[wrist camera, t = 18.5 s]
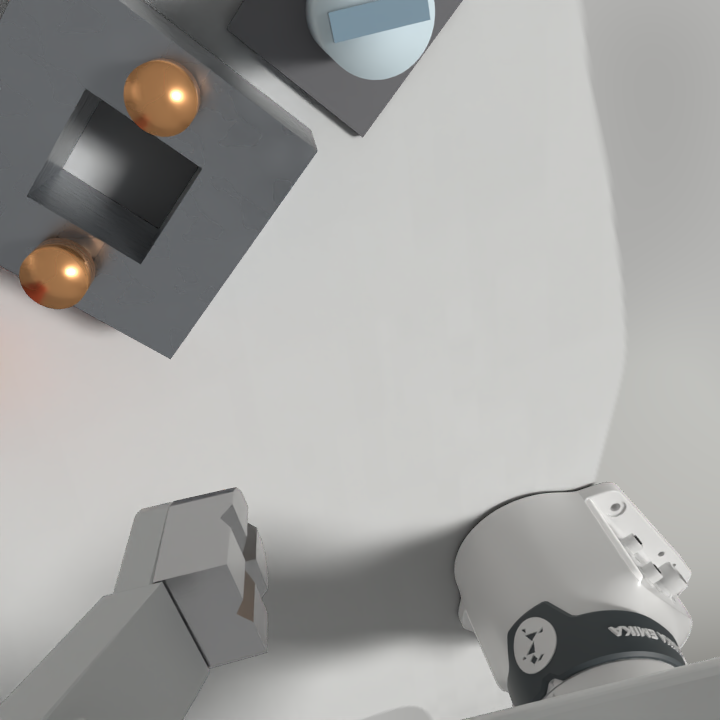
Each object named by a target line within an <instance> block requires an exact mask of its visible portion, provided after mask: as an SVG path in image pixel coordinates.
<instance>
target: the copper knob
mask: <svg viewBox="0 0 720 720" xmlns="http://www.w3.org/2000/svg"><path fill="white" fill-rule="evenodd" d="M95 271H96V269H95V264H94V261H93V258H92V257H91V255H90V254H89V252H88V251H87V250H86V249H85V248H84V247H83V246H81V245H80V244H78V243H77V242H75V241H72V240H70V239H66V238H51V239H48V240H45V241H43V242H42V243H40V244H39V245H38V246H37V247H36V248H35V249H34V250H33V251H32V252H31V253H30V254H29V255H28V256H27V257H26V259H25V260H24V261H23V262H22V264H21V267H20V271H19V278H20V283H21V285H22V287H23V289H24V291H25V292H26V294H27V295H28V296H29V297H30V298H31V299H32V300H34V301H35V302H37V303H38V304H40V305H42V306H45V307H48V308H53V309H65V308H69V307H71V306H74V305H75V304H77V303H78V302H79V301H80V300H81V299H82V298H83V296H84V295H85V293H86V292H87V290H88V289H89V287H90V285H91V284H92V282H93V280H94V278H95Z"/></svg>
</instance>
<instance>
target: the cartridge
mask: <svg viewBox="0 0 720 720" xmlns="http://www.w3.org/2000/svg"><path fill="white" fill-rule="evenodd" d="M305 11H306V21H307V25H308V28H309V31H310V33H311V35H312V37H313V39H314V40H315V41H316V43H317V44H318V45H319V46H320V47H321V48H322V49H323V50H324V51H325V52H326V53H327V54H328V55H329V56H330V57H331V58H332V59H333V60H334V61H335V62H336V63H337V64H338V65H339V66H341V67H342V68H343V69H344V70H346V71H347V72H349V73H351V74H352V75H355V76H357V77H360V78H364V79H369V80H382V79H388V78H391V77H394V76H397V75H399V74H401V73H403V72H404V71H406V70H407V69H409V68H410V67H411V66H412V65H413V64H414V63H415V62H416V61H417V60H418V59H419V58H420V56H421V55H422V53H423V52H424V50H425V49H426V47H427V45H428V43H429V40H430V38H431V35H432V31H433V27H434V21H435V3H434V0H306V9H305Z"/></svg>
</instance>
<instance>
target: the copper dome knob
mask: <svg viewBox="0 0 720 720" xmlns="http://www.w3.org/2000/svg"><path fill="white" fill-rule="evenodd" d="M123 96H124V103H125V107H126V110H127V112H128V114H129V116H130V117H131V119H132V120H133V121H134V122H135V124H136V125H137V126H138V127H140V128H141V129H142V130H144V131H146V132H147V133H149V134H152V135H155V136H160V137H170V136H174V135H177V134H179V133H181V132H183V131H184V130H185V129H186V128H187V127H188V126H189V125H190V124H191V122H192V121H193V119H194V118H195V116H196V115H197V113H198V110H199V107H200V100H201V98H200V90H199V87H198V84H197V82H196V80H195V78H194V76H193V75H192V74H191V72H190V71H189V70H188V69H187V68H186V67H184V66H183V65H182V64H180V63H178V62H176V61H174V60H171V59H165V58H158V59H153V60H150V61H148V62H146V63H143V64H141V65H139V66H138V67H136V68H135V69H134V70H133V71H132V72H131V73H130V75H129V76H128V78H127V80H126V82H125V85H124V94H123Z"/></svg>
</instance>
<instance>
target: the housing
mask: <svg viewBox="0 0 720 720" xmlns="http://www.w3.org/2000/svg"><path fill="white" fill-rule="evenodd" d="M158 58H165V59H171V60H174V61H176V62H178V63H180V64H182V65H183V66H184V67H186V68H187V69H188V70H189V71H190V72H191V74H192V75H193V76H194V78H195V80H196V82H197V84H198V87H199V90H200V98H201V100H200V107H199V110H198V113H197V115H196V116H195V118H194V119H193V121H192V122H191V124H190V125H189V126H188V127H187V128H186V129H185V130H184V131H183V132H181V133H179V134H177V135H174V136H170V137H160V136H155V135H154V136H155V137H157V138H158V139H160V140H161V141H163V142H164V143H166V144H167V145H169V146H170V147H171V148H173V149H174V150H176V151H177V152H179V153H180V154H182V155H183V156H185V157H186V158H187V159H189V160H190V161H192V162H193V163H195V164H196V165H198V166H199V167H198V169H197V170H196V172H195V174H194V175H193V177H192V178H191V180H190V181H189V183H188V184H187V186H186V188H185V189H184V191H183V192H182V194H181V195H180V197H179V198H178V200H177V202H176V203H175V205H174V206H173V208H172V209H171V211H170V212H169V214H168V216H167V217H166V219H165V220H164V222H163V223H162V225H161V227H160V228H159V229H158V228H156V227H154V226H153V225H151V224H150V223H148V222H147V221H145V220H143V219H142V218H140V217H139V216H137V215H135V214H134V213H132V212H131V211H129V210H127V209H126V208H124V207H123V206H121V205H119V204H118V203H116V202H115V201H113V200H112V199H110V198H108V197H107V196H105V195H104V194H102V193H100V192H99V191H97V190H96V189H94V188H92V187H91V186H89V185H88V184H86V183H84V182H83V181H81V180H80V179H78V178H77V177H75V176H73V175H72V174H70V173H69V172H67V171H65V170H64V169H62V168H63V166H64V164H65V163H66V161H67V159H68V157H69V155H70V154H71V152H72V150H73V148H74V147H75V145H76V143H77V141H78V139H79V138H80V136H81V134H82V132H83V130H84V129H85V127H86V125H87V123H88V122H89V120H90V118H91V116H92V114H93V113H94V111H95V109H96V107H97V105H98V104H99V102H100V100H101V99H102V100H103V101H105V102H106V103H107V104H109V105H110V106H112V107H113V108H115V109H116V110H118V111H119V112H121V113H122V114H123V115H125V116H126V117H128V118H129V119H131V117H130V116H129V114H128V112H127V110H126V107H125V103H124V96H123V94H124V85H125V82H126V80H127V78H128V76H129V75H130V73H131V72H132V71H133V70H134V69H135V68H136V67H138V66H139V65H141V64H143V63H146V62H148V61H150V60H153V59H158ZM131 120H132V119H131ZM132 121H133V120H132ZM316 153H317V147H316V144H315V141H314V138H313V135H312V131H311V130H310V129H309V128H308V127H306V126H305V125H304V124H302V123H301V122H300V121H299V120H297V119H296V118H295V117H293V116H292V115H291V114H289V113H288V112H287V111H286V110H284V109H283V108H282V107H280V106H279V105H278V104H276V103H275V102H274V101H273V100H271V99H270V98H269V97H267V96H266V95H265V94H263V93H262V92H261V91H260V90H258V89H257V88H256V87H254V86H253V85H252V84H250V83H249V82H248V81H247V80H245V79H244V78H243V77H241V76H240V75H239V74H237V73H236V72H235V71H234V70H232V69H231V68H230V67H228V66H227V65H226V64H224V63H223V62H222V61H221V60H219V59H218V58H217V57H215V56H214V55H213V54H211V53H210V52H209V51H208V50H206V49H205V48H204V47H202V46H201V45H200V44H198V43H197V42H196V41H195V40H193V39H192V38H191V37H189V36H188V35H187V34H185V33H184V32H183V31H182V30H180V29H179V28H178V27H176V26H175V25H174V24H172V23H171V22H170V21H169V20H167V19H166V18H165V17H163V16H162V15H161V14H160V13H158V12H157V11H156V10H154V9H153V8H152V7H150V6H149V5H148V4H147V3H145V2H144V1H143V0H10V1H9V3H8V5H7V7H6V9H5V12H4V14H3V16H2V18H1V20H0V266H2V267H3V268H5V269H7V270H9V271H11V272H13V273H14V274H16V275H18V276H19V271H20V267H21V264H22V262H23V261H24V260H25V259H26V257H27V256H28V255H29V254H30V253H31V252H32V251H33V250H34V249H35V248H36V247H37V246H38V245H39V244H40V243H42V242H43V241H45V240H48V239H51V238H66V239H70V240H72V241H75V242H77V243H78V244H80V245H81V246H83V247H84V248H85V249H86V250H87V251H88V252H89V254H90V255H91V257H92V258H93V261H94V264H95V269H96V271H95V278H94V280H93V282H92V284H91V285H90V287H89V289H88V290H87V292H86V293H85V295H84V296H83V298H82V299H81V300H80V301H79V302H78V303H77V304H75V305H74V306H75V307H76V308H78V309H80V310H82V311H84V312H86V313H87V314H89V315H91V316H93V317H95V318H96V319H98V320H100V321H102V322H104V323H106V324H107V325H109V326H111V327H113V328H115V329H117V330H118V331H120V332H122V333H124V334H126V335H127V336H129V337H131V338H133V339H135V340H137V341H138V342H140V343H142V344H144V345H146V346H148V347H149V348H151V349H153V350H155V351H157V352H158V353H160V354H162V355H164V356H166V357H168V358H169V359H171V358H172V356H173V355H174V353H175V352H176V351H177V349H178V348H179V346H180V345H181V344H182V342H183V341H184V339H185V338H186V336H187V335H188V334H189V332H190V331H191V329H192V328H193V327H194V325H195V324H196V322H197V321H198V319H199V318H200V317H201V315H202V314H203V312H204V311H205V310H206V308H207V307H208V305H209V304H210V303H211V301H212V300H213V298H214V297H215V295H216V294H217V293H218V291H219V290H220V288H221V287H222V286H223V284H224V283H225V281H226V280H227V278H228V277H229V276H230V274H231V273H232V271H233V270H234V269H235V267H236V266H237V264H238V263H239V261H240V260H241V259H242V257H243V256H244V254H245V253H246V252H247V250H248V249H249V247H250V246H251V245H252V243H253V242H254V240H255V239H256V237H257V236H258V235H259V233H260V232H261V230H262V229H263V228H264V226H265V225H266V223H267V222H268V220H269V219H270V218H271V216H272V215H273V213H274V212H275V211H276V209H277V208H278V206H279V205H280V203H281V202H282V201H283V199H284V198H285V196H286V195H287V194H288V192H289V191H290V189H291V188H292V187H293V185H294V184H295V182H296V181H297V179H298V178H299V177H300V175H301V174H302V172H303V171H304V170H305V168H306V167H307V165H308V164H309V162H310V161H311V160H312V158H313V157H314V155H315V154H316Z"/></svg>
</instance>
